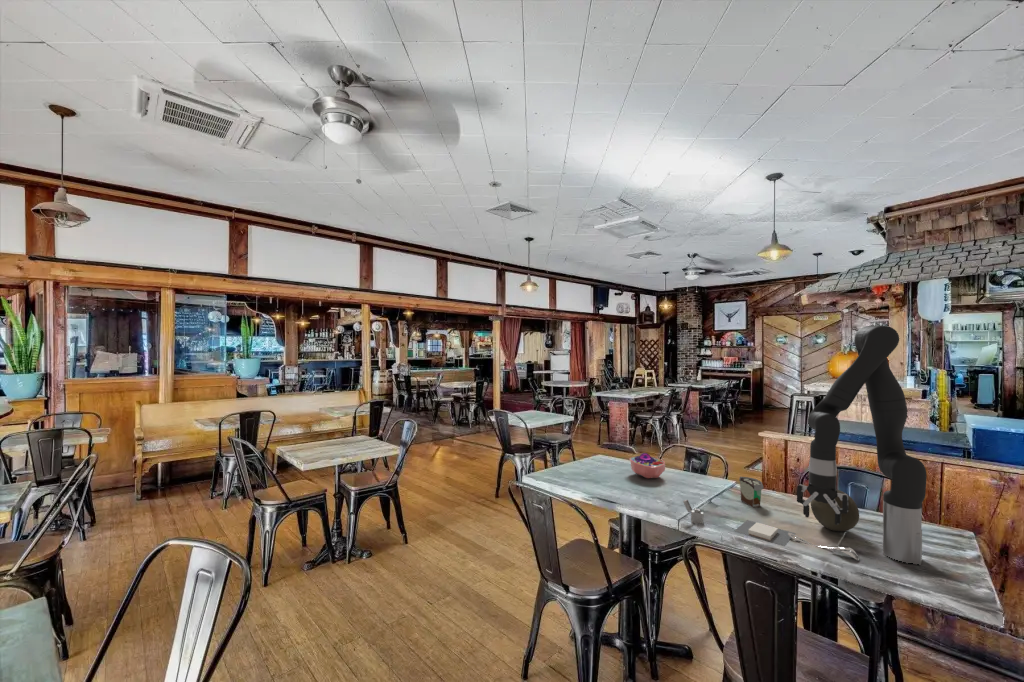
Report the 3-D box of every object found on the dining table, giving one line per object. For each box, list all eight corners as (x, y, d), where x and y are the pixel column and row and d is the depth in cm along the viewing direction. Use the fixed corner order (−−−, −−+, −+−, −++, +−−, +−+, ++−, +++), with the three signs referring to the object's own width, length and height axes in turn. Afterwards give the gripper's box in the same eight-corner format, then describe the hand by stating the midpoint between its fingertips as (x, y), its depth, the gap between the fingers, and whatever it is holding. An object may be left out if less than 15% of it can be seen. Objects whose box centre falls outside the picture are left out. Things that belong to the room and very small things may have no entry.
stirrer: (786, 529, 151) (790, 525, 154) (785, 539, 151) (789, 535, 154) (858, 554, 136) (861, 549, 139) (857, 565, 136) (860, 560, 139)
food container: (769, 509, 178) (769, 485, 178) (754, 509, 178) (755, 485, 178) (752, 498, 191) (753, 476, 191) (739, 498, 191) (739, 476, 191)
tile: (778, 528, 156) (770, 536, 150) (778, 532, 156) (770, 540, 150) (756, 522, 161) (748, 529, 155) (756, 526, 161) (748, 534, 155)
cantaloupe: (816, 519, 169) (816, 481, 169) (862, 531, 158) (862, 490, 158) (806, 530, 159) (806, 489, 159) (854, 543, 149) (854, 500, 149)
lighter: (703, 523, 165) (703, 502, 165) (702, 525, 163) (702, 504, 163) (684, 519, 169) (684, 498, 169) (683, 520, 168) (683, 500, 168)
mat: (795, 534, 156) (795, 533, 156) (784, 547, 146) (784, 546, 146) (747, 521, 167) (747, 519, 167) (734, 532, 157) (734, 530, 157)
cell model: (635, 483, 212) (635, 459, 212) (626, 470, 232) (626, 449, 232) (670, 483, 211) (670, 460, 211) (658, 471, 231) (658, 449, 231)
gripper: (851, 474, 142) (850, 524, 142) (800, 464, 153) (799, 511, 153) (847, 479, 137) (846, 530, 137) (794, 468, 147) (793, 516, 147)
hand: (821, 520), depth 145 cm, fingers open, 7 cm apart
